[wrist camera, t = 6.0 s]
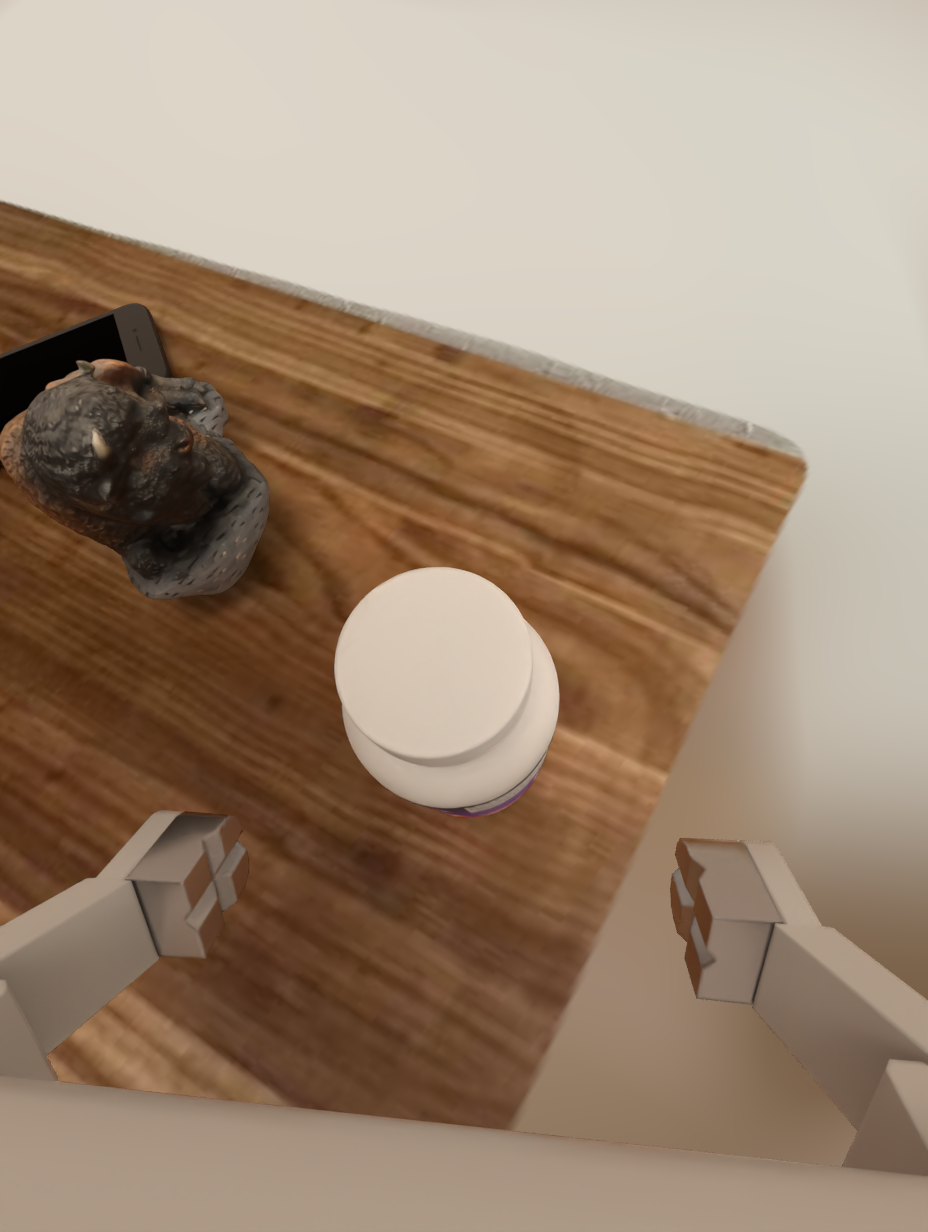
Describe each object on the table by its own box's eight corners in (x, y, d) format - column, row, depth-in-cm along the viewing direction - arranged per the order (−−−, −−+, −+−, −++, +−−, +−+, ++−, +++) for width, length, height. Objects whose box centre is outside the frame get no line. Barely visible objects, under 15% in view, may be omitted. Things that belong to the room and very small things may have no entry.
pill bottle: (368, 728, 20) (249, 635, 11) (482, 641, 21) (457, 491, 12) (456, 854, 18) (398, 865, 9) (577, 753, 19) (631, 673, 10)
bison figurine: (90, 468, 26) (-142, 263, 17) (218, 395, 27) (66, 167, 18) (188, 654, 22) (-52, 516, 13) (335, 559, 23) (214, 368, 14)
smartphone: (-118, 412, 29) (-136, 400, 28) (151, 307, 30) (141, 292, 29) (-113, 516, 26) (-134, 506, 25) (182, 395, 27) (172, 381, 27)
